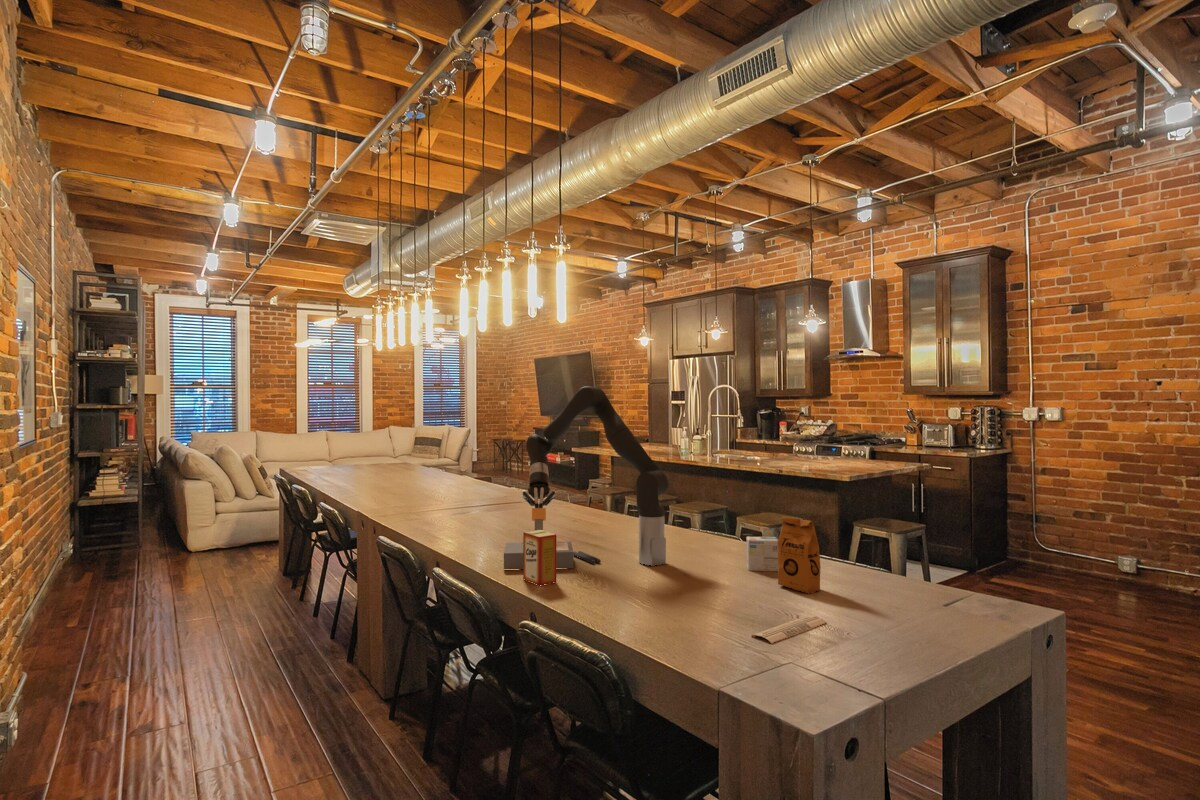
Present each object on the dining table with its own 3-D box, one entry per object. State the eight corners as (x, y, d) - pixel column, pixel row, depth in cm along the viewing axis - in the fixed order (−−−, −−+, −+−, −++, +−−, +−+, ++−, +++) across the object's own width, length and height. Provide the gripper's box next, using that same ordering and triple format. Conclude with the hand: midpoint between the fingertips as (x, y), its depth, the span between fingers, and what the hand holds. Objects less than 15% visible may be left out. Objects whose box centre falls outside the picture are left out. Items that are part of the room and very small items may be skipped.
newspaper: (807, 619, 174) (807, 613, 174) (830, 627, 169) (830, 620, 169) (751, 639, 160) (751, 632, 160) (774, 648, 154) (774, 641, 154)
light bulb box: (776, 566, 227) (776, 536, 227) (779, 571, 220) (779, 540, 220) (745, 566, 228) (745, 535, 228) (748, 571, 221) (748, 539, 221)
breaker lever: (531, 544, 231) (532, 510, 237) (545, 544, 232) (545, 509, 237) (531, 543, 229) (531, 508, 234) (545, 542, 229) (545, 508, 235)
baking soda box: (556, 582, 207) (556, 533, 207) (539, 586, 202) (539, 535, 202) (539, 576, 214) (540, 528, 214) (523, 579, 210) (523, 531, 210)
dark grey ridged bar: (601, 563, 231) (601, 559, 231) (592, 564, 229) (592, 560, 229) (580, 554, 244) (580, 550, 244) (571, 555, 242) (571, 551, 242)
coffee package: (806, 596, 193) (806, 523, 193) (773, 586, 203) (773, 517, 203) (826, 590, 199) (826, 519, 199) (793, 581, 209) (793, 513, 209)
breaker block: (506, 559, 237) (506, 534, 237) (571, 557, 239) (571, 533, 239) (503, 570, 221) (503, 544, 221) (573, 569, 223) (573, 543, 223)
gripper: (521, 471, 248) (520, 508, 235) (556, 470, 249) (556, 507, 237) (522, 483, 253) (521, 519, 241) (555, 482, 254) (556, 519, 242)
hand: (538, 513), depth 239 cm, fingers closed
